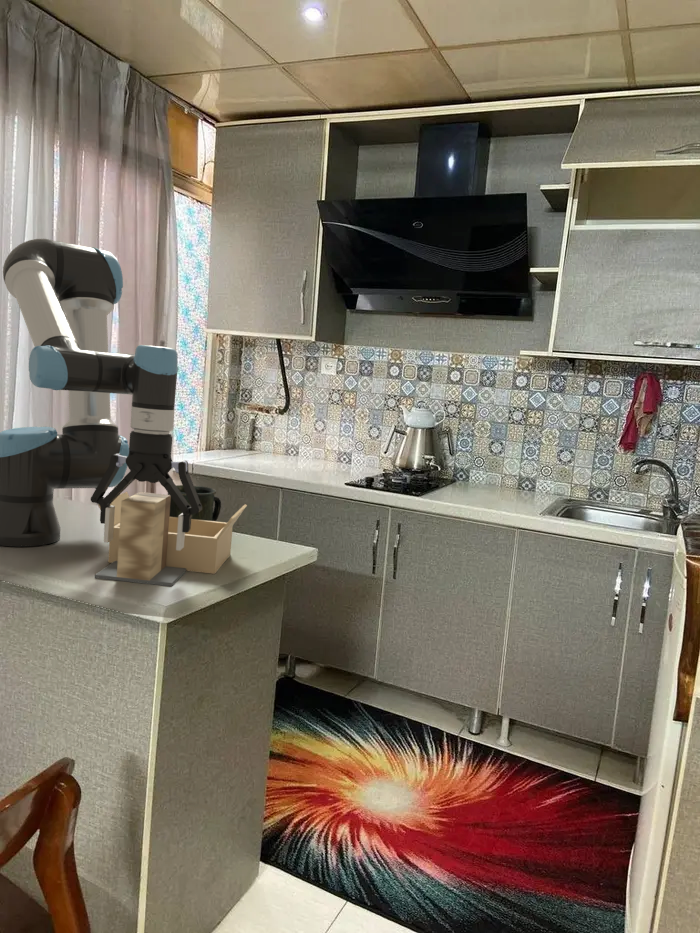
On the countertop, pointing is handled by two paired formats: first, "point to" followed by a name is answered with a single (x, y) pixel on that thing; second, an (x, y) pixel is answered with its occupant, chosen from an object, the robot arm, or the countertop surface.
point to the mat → (162, 578)
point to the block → (143, 535)
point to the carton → (188, 542)
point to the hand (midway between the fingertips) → (144, 545)
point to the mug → (206, 501)
